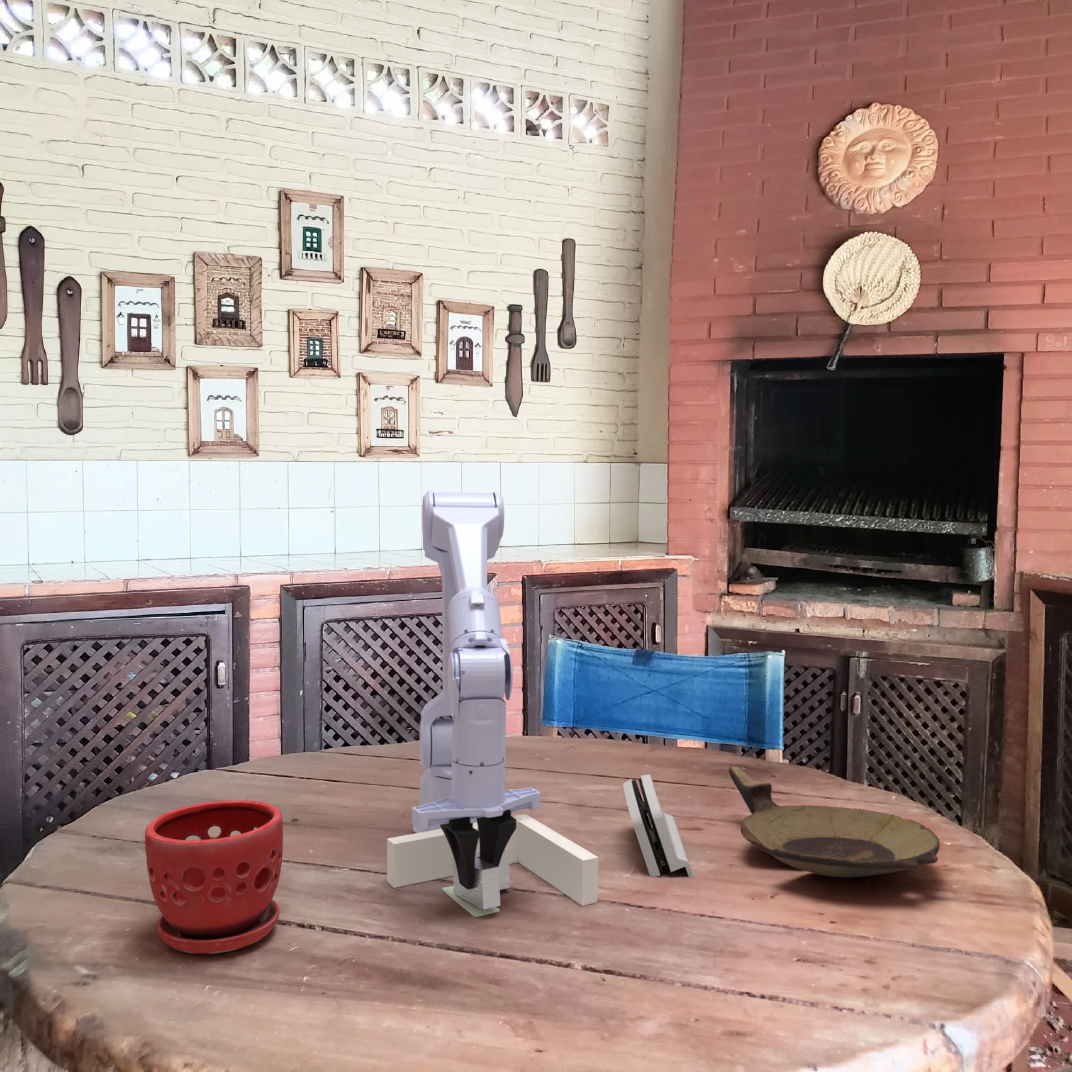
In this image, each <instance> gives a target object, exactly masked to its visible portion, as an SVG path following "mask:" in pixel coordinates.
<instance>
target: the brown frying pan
mask: <svg viewBox="0 0 1072 1072" xmlns="http://www.w3.org/2000/svg"><path fill="white" fill-rule="evenodd" d="M728 774H729V776H730V778H731V780H732V782H733V784H734V786H736V788H737V790H738V792H739V793H740V795H741V796H742V797H741V798H742V799H743V801H744V803H745V804H746V806H747V808H748V810H749V812H750V813H751V814H750V815H748V816H746V817H745V818H744V819H743V820H742V821H741V823H740V833H741V835H742V837H743V838H744V839H745V840H746V841H747V842H749V843H750V844H752V845H753V846H754V847H756V848H758V849H759V850H761V851H763V852H765V853H767V854H768V855H771V856H772V857H773V858H775V859H776V860H778V861H780V862H782V863H784V864H786V865H788V866H790V867H792V868H794V869H799V870H801V871H805V872H808V873H812V874H816V875H821V876H825V877H830V878H831V877H832V878H858V877H859V878H860V877H871V876H879V875H884V874H890V873H894V872H900V871H904V870H905V871H906V870H915V869H917V868H918V866H923V865H930V864H935V863H937V862H938V860H939V859H938V856H937V855H938V853H939V851H940V849H941V844H940V839H939V837H938V836H937V835H936V834H935V832H934V831H932V830H931V829H930V828H928V827H926V826H924V825H923V824H922V823H920V822H917V821H915V820H913V819H907V818H906V819H905V818H903V817H902V816H899V815H896V814H889V813H885V812H881V811H875V810H870V809H869V810H868V809H861V808H850V807H843V806H842V807H841V806H840V807H837V806H826V805H825V806H822V805H805V804H803V805H784V806H783V805H778V804H776V803H775V802H774V801H773V798H772V787H773V786H772V783H770V782H760V781H756V780H755V779H753V778H752V777H750V776H749V775H748V774H746V772H744V771H743V770H742V769H741V768H740V767H738V766H734V765H731V766H730V767H729V768H728Z"/></svg>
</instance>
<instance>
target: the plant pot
mask: <svg viewBox="0 0 1072 1072" xmlns="http://www.w3.org/2000/svg"><path fill="white" fill-rule="evenodd" d="M213 827H218V828H219V829H220V834H219V835H218V836H215V837H212V836H210V833H209V830H210V829H211V828H213ZM144 831H145V832H144V845H145V846H144V848H145V858H146V870H147V874H148V875H147V876H148V879H149V884H150V889H151V893H152V896H153V897H152V898H153V899H154V902H155V904H156V906H157V908H158V910H159V912H160V914H161V915H162V916H161V917H160V918H159V920H158V923H157V933H158V936H159V937H160V939H161V940H162V941H163V943H165V944H166V945H167V946H169V947H171V948H172V949H174V950H177V951H180V952H183V953H185V954H188V955H189V954H190V955H191V954H199V955H201V954H202V955H205V954H206V955H207V954H208V955H210V954H211V955H214V954H219V953H220V954H221V953H226V952H232V951H235V950H239V949H243V948H245V947H248V946H250V945H252V944H254V943H257V942H258V941H260V940H261V939H263V938H264V937H266V936H268V934H269V933H270V932H271V931H272V930H273V928H274V927H275V925H276V923H277V921H278V920H279V916H280V912H281V911H280V907H279V904H278V903H277V902H276V901H275V900H273V898H274V896H275V893H276V890H277V888H278V884H279V880H280V877H281V871H282V864H283V863H282V862H283V852H284V850H283V849H284V824H283V815H282V811H281V810H280V809H279V808H278V807H276V805H272V804H270V803H267V802H264V801H263V802H262V801H257V800H249V799H248V800H247V799H230V800H228V799H227V800H216V801H215V800H214V801H207V802H201V803H195V804H191V805H185V806H183V807H182V806H181V807H179V808H175V809H172V810H169V811H166V812H165V813H163V814H161V815H159V816H158V817H156V818H154V819H152V820H151V821H150V822H149V823H148V824H147V825H146V828H145V830H144ZM233 832H239V834H236V835H232V836H231V834H232V833H233ZM192 836H193V837H197V838H199V839H198V840H196V839H195V840H192V839H191V840H189V839H188V840H187V838H190V837H192Z"/></svg>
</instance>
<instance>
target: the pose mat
mask: <svg viewBox="0 0 1072 1072" xmlns="http://www.w3.org/2000/svg"><path fill="white" fill-rule="evenodd" d="M441 891H442V892H444V893H445V894H447V896H448V897H450V898H451V899H452V900H453V901H455V902H456V903H457V904H458V905H459V906H460V907H462V908H463V909H464V910H465V911H467V913H468V914H470V915H471V916H472V917H473V918H478V917H483V916H486V915H490V914H495V913H499V912H501V910H500V908H499V907H498V906H496V907H492V908H487V909H482V908H480V907H478V906H476V905H474V904H472V903H470V902H468V901H466V900H465V899H463V898H461V897H459V896H457V895H455V894H454V885H451V886H446V887H442V888H441Z"/></svg>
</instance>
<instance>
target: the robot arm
mask: <svg viewBox="0 0 1072 1072" xmlns="http://www.w3.org/2000/svg"><path fill="white" fill-rule="evenodd" d="M421 509H422V510H421V525H422V526H421V527H422V528H421V529H422V530H421V531H422V532H421V533H422V549H423V550H424V557H425V558H427V559H429V560H431V561H433V562H436V563H437V566H438V568H439V572H440V576H441V581H442V585H441V593H442V594H441V595H442V597H441V599H442V601H441V603H442V609H441V611H442V612H441V613H442V615H441V616H442V617H441V619H442V622H441V623H442V625H441V627H442V690H441V692H440V693H439V694H438V695H436V696H435V697H433V698H432V699H431V700H430V701H428V702H426V704H425V705H424V706H423V709H422V710H421V712H420V725H419V760H420V762H419V763H420V765H421V767H423V768H424V770H425V771H424V772H423V774H422V775H421V777H420V781H419V782H420V783H419V805H418V806H412V808H411V826H413V827H412V831H413V832H414V834H415V833H421V832H426V831H432V830H437V829H442V831H443V832H444V834H445V836H446V839H447V841H448V843H449V845H450V848H451V851H452V853H453V857H454V860H455V863H456V867H457V872H458V877H459V883H460V884H461V885H462V886H463V887H465V888H466V889H468V890H469V889H473V885H474V877H475V854H476V848H477V843H478V839H479V842H480V859H481V860H484V861H486V862H488V863H491V864H493V865H495V866H498V867H499V864H500V860H501V857H502V855H503V852H504V850H505V847H506V845H507V843H508V841H509V839H510V838H511V836H512V834H513V833H514V831H515V830H516V825H517V820H516V819H515V818H513V817H512V816H513V815H512V813H514V812H520V811H525V810H530V811H538V810H541V791H538V790H537V789H535V788H533V787H525V788H514V789H506V788H505V787H506V786H505V784H506V739H507V738H506V735H507V734H506V732H507V731H506V728H507V727H506V725H507V702H506V701H510V699H511V695H512V689H513V679H514V678H513V675H514V673H513V671H514V670H513V660H512V656H511V655H512V654H511V653H510V652H511V651H510V647H509V646H508V642H507V638H503V630H502V622H501V611H500V602H499V600H498V599H497V597H496V595H494V594H493V593H491V592H489V591H488V560H491V559H494V558H495V556H496V553H497V551H498V549H499V547H500V543H501V540H502V538H503V536H504V532H505V531H504V530H505V503H504V498H503V497H502V495H501V494H500V493H499V492H498V491H493V492H447V491H446V492H442V491H441V492H440V491H439V492H433V491H432V490H428V491H426V493H425V494H424V495H423V496H422V507H421ZM504 696H505V699H506V701H505V699H504ZM445 716H446V717H447V716H451V718H439V717H445ZM476 822H477V825H478V831H477V830H476V829H474V828H473V823H476Z"/></svg>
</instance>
